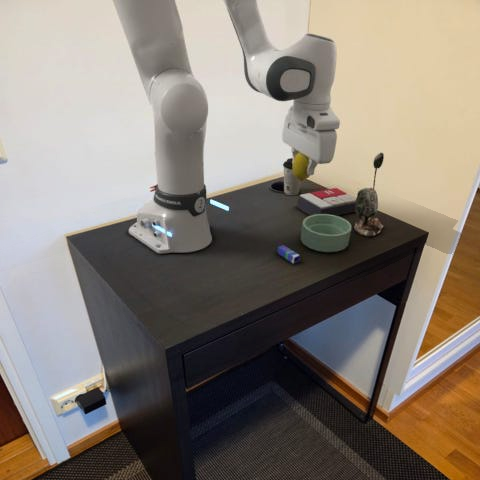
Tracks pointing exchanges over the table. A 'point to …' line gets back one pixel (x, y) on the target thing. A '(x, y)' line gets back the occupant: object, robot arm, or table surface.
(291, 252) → the eraser
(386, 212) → the table surface
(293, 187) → the coffee cup
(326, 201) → the calculator
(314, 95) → the robot arm
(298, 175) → the lemon
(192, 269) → the table surface
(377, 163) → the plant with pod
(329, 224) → the bowl
